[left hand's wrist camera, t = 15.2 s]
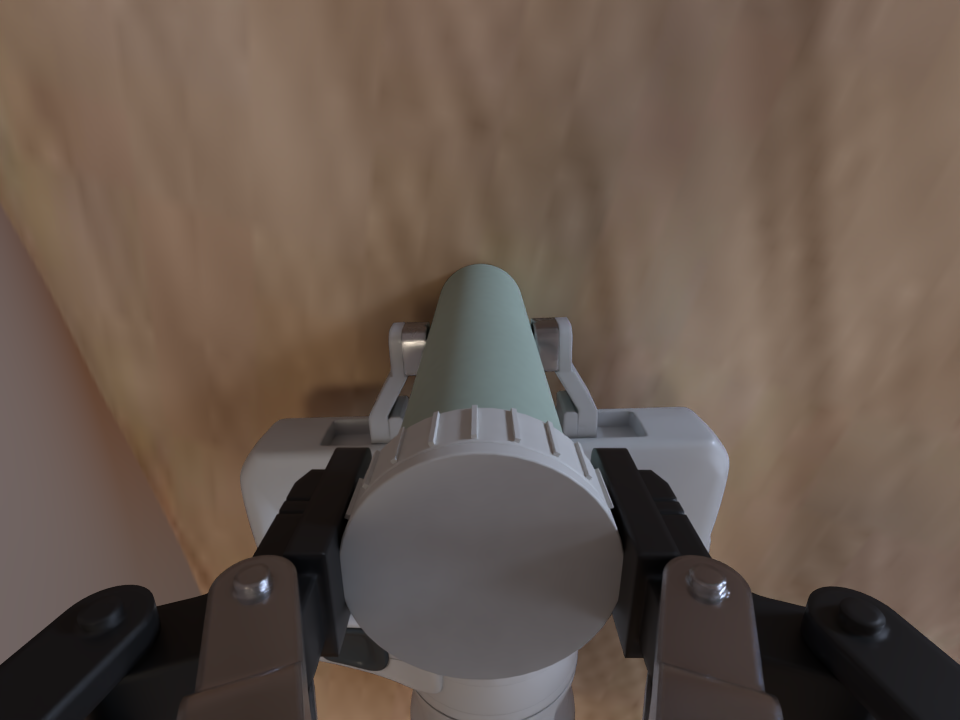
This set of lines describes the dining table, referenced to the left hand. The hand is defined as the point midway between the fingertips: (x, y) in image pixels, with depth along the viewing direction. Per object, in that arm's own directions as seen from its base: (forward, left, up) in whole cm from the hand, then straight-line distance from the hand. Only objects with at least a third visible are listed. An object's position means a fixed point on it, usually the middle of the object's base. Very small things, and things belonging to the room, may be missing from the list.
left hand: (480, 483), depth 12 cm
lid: (0, 0, +3) cm, 3 cm away
